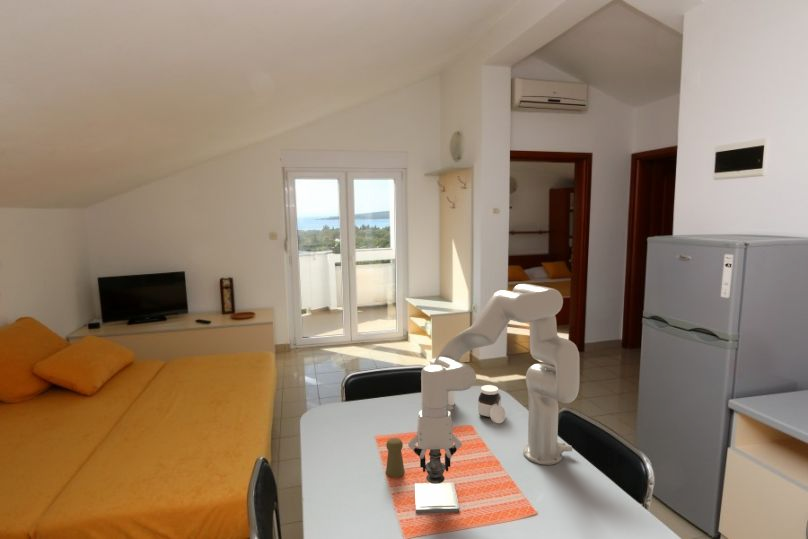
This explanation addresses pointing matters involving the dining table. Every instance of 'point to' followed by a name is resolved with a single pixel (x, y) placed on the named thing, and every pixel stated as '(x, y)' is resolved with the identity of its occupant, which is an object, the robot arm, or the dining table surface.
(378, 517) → the dining table surface
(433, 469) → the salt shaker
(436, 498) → the coaster
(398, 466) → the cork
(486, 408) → the spread jar
